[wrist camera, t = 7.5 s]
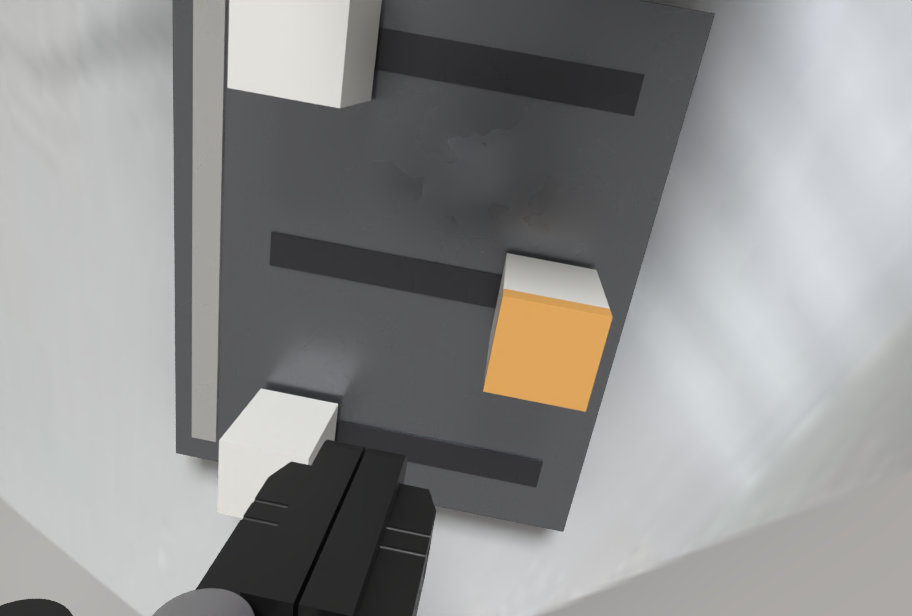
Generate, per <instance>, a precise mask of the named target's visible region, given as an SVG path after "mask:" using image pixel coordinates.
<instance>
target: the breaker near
mask: <svg viewBox="0 0 912 616" xmlns="http://www.w3.org/2000/svg"><path fill="white" fill-rule="evenodd" d="M381 3H382V0H229V39H228V81H227V88H231V89H236V90H242V91H247V92H253V93H258V94H264V95H269V96H275V97H280V98H286V99H291V100H297V101H302V102H308V103H313V104H318V105H324V106H329V107H335V108H344V107H348V106H352V105H356V104H359V103H363V102H367V101H371V96H372V86H373V77H374V68H375V59H376V49H377V40H378V31H379V21H380V12H381Z"/></svg>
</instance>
